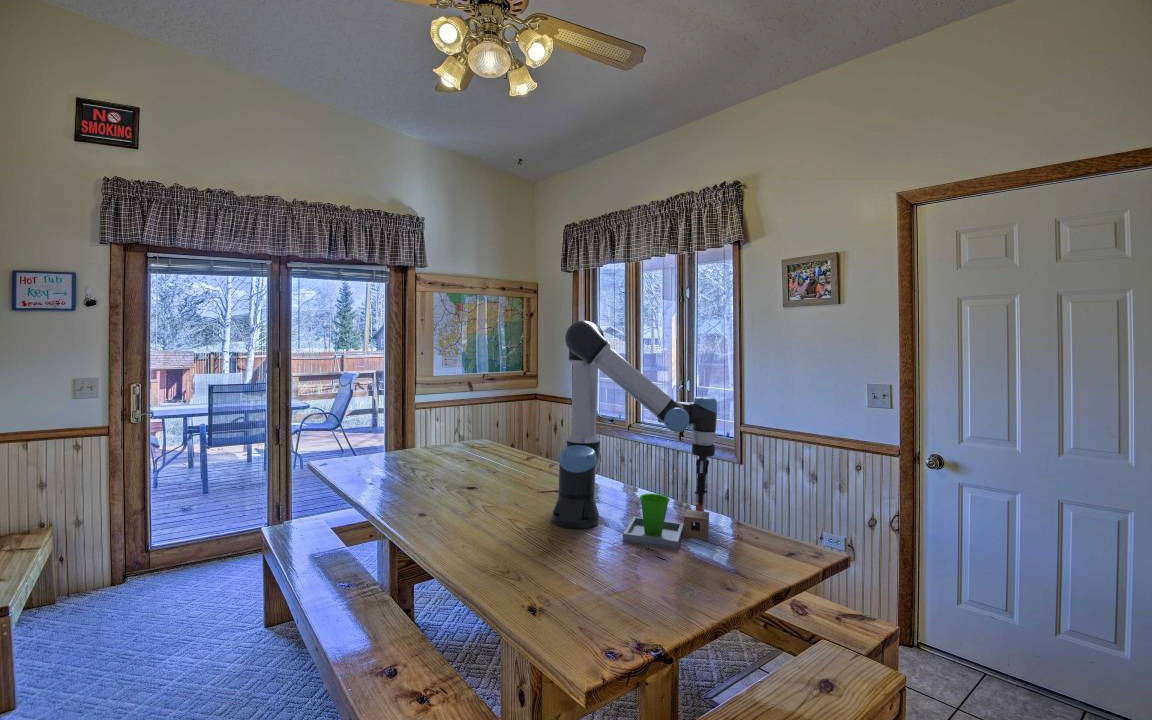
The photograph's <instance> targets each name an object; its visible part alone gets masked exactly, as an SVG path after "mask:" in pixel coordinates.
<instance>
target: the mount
mask: <svg viewBox="0 0 1152 720" xmlns="http://www.w3.org/2000/svg"><path fill="white" fill-rule="evenodd" d="M694 522H697V523H699V524H695V523H694ZM683 523H684V530H683V534H682V537H683V538H687V537H688V539H694V540H695V539H696V540H701V541H707V540H708V536H709V526H710V512H709V511H704V512H703V511H696V509H695V510H694V509H689V508H688V509H686V510H685V513H684V516H683Z"/></svg>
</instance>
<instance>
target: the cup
mask: <svg viewBox="0 0 1152 720" xmlns="http://www.w3.org/2000/svg"><path fill="white" fill-rule="evenodd" d="M639 499H640V503H641V513H642V518H643V523H644V531H645V534H646V535H648V536H655V537H656V536H660V535H661V534H662V530H663V525H664V521H666V516H667V515H666V514H667V511H668V506H669V505H668V504H669V502H670V497H668V496H667V495H663V494H659V493H644V494H641V495H640V496H639Z"/></svg>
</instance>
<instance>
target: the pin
mask: <svg viewBox="0 0 1152 720" xmlns="http://www.w3.org/2000/svg"><path fill="white" fill-rule="evenodd" d="M695 511H703V503H696V502H695ZM693 523H694V524H700V523H697V522H693Z"/></svg>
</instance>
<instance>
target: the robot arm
mask: <svg viewBox="0 0 1152 720" xmlns="http://www.w3.org/2000/svg"><path fill="white" fill-rule="evenodd" d="M564 339H565V340H564V341H565V345H566V347H567V348H568V361H569V362H570V363H571V365H572V382H571V383H572V385H571V386H572V390H571V421H570V423H571V424H570V425H571V426H570V428H571V429H570V435H569V436H568V437H566V446H565V447H563V448H562V449H561V451H560V453H559V459H558V463H559V466H558V467H559V468H558V469H559V471H558V495H557V499H556V502H555V505H554V507H553V511H552V513H551V514H552V515H551V521H552V523H554V524H555V525H557V526H559V527H563V528H567V529H576V530H577V529H578V530H579V529H589V528H592V527H595V526H597V525H599V522H600V514H599V509H598V506H597V503H596V500H595V493H596V492H595V489H596V474H597V473H598V470H599V468H600V467H601V462H602V455H601V439H600V438H599V437H598V436H597V405H598V404H597V401H598V370H600V371H601V372H602V373H603V374H605V375H606V376H607V377H608V378H609V379H610V380H612V381H613V382H614V383H615V384H616V385H618V386H619V387H620V388H621V389H622V390H624V391H625V392H626V393H628V394H629V395H630V396H631V397H632V398H633V399H635V400H636V401H637V402H639V403H638V404H641V405H642V406H643V407H644V408H645V409H647V411H649V412H650V413H651V414H653V415H654V417H656V418H657V422H658V423H660V424H664V425H665V428H667V429H668V430H670V431H671V432H674V433H680V432H683V431H685V430H686V429H687V428H688V426H692V433H691V434H692V437H691V439H692V440H691V441H692V443H691V444H692V445H691V454H692V455H694V456H698V458H697V459H696V474H697V476H696V477H697V479H696V491H694V494H696V502H695V504H696V503H703V512H705V505H706V494H708V490H706V489H707V487H706V485H707V484H706V483H707V474H708V472H709V471H708V470H709V464H710V460H709V459H708V457H709V458H711V457H715V454H716V451H715V450H716V445H715V443H716V438H718V434H717V433H716V431H717V417H718V400H717V399H716V398H714V397H710V396H695V397H694V399H693V401H691V402H686V401H675V400H674V399H672V397H670V396H669V395H668V394H667V393H665V392H664V391H663V390H662V389H661V388H659V387H658V386H657V385H656V384H655V383H654V382H653V381H651V380H650V379H649V378H647V376H645V375H644V374H643V373H642V372H640V371H639V370H638V369H637V368H636V367H635V366H633V365H632V364H630V362H628V361H627V360H626V359H625V358H623V356H621V355H620V354H619V353H618V352H616V351H615V349H613V348H612V347H611V342H610V341H608V339H606V338H605V335H604V331H603V330H602V328H601V327H600V326H599V325H598V324H597V323H595V322H593V321H589V320H577V321H576V322H573V323H572V324H571V325H570V326H569V327H568V328H567V329H566V333H565V337H564Z"/></svg>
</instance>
